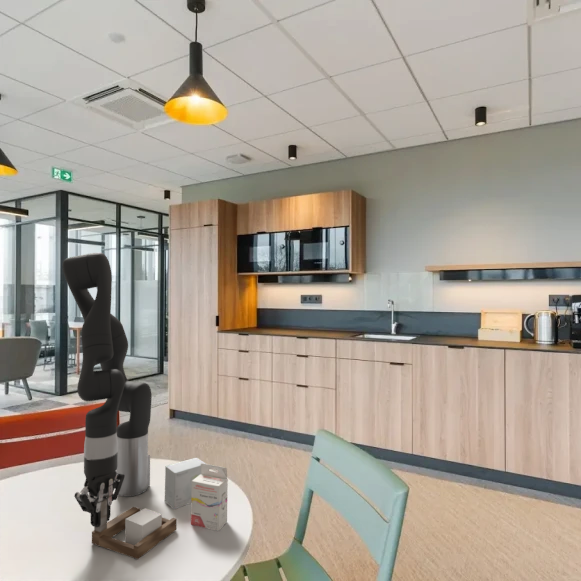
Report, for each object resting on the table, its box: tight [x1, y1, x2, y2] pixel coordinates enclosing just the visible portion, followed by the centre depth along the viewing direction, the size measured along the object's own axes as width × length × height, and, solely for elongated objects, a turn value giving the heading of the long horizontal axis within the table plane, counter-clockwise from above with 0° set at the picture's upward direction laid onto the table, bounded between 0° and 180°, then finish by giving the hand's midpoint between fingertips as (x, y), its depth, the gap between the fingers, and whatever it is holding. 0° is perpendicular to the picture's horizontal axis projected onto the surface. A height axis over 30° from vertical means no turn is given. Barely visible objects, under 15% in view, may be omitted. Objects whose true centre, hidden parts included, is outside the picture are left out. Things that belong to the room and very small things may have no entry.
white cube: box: [124, 508, 163, 545], centre depth 104 cm, size 6×6×6 cm
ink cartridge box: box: [190, 463, 229, 532], centre depth 112 cm, size 9×5×15 cm, turn 71°
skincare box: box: [164, 457, 207, 510], centre depth 125 cm, size 10×6×10 cm, turn 132°
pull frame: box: [91, 498, 178, 560], centre depth 105 cm, size 13×15×10 cm
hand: (100, 523), depth 103 cm, fingers closed on pull frame, 2 cm apart
